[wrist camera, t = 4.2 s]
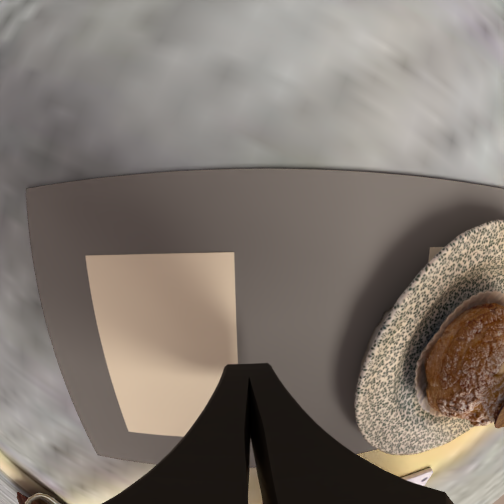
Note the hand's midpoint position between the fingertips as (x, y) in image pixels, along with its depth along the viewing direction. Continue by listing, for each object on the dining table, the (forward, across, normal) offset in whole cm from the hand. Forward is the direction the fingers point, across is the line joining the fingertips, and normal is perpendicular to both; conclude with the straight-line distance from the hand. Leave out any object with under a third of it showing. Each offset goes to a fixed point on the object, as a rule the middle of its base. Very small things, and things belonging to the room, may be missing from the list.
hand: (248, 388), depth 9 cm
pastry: (+2, -10, +1) cm, 10 cm away
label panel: (+2, -5, 0) cm, 5 cm away
